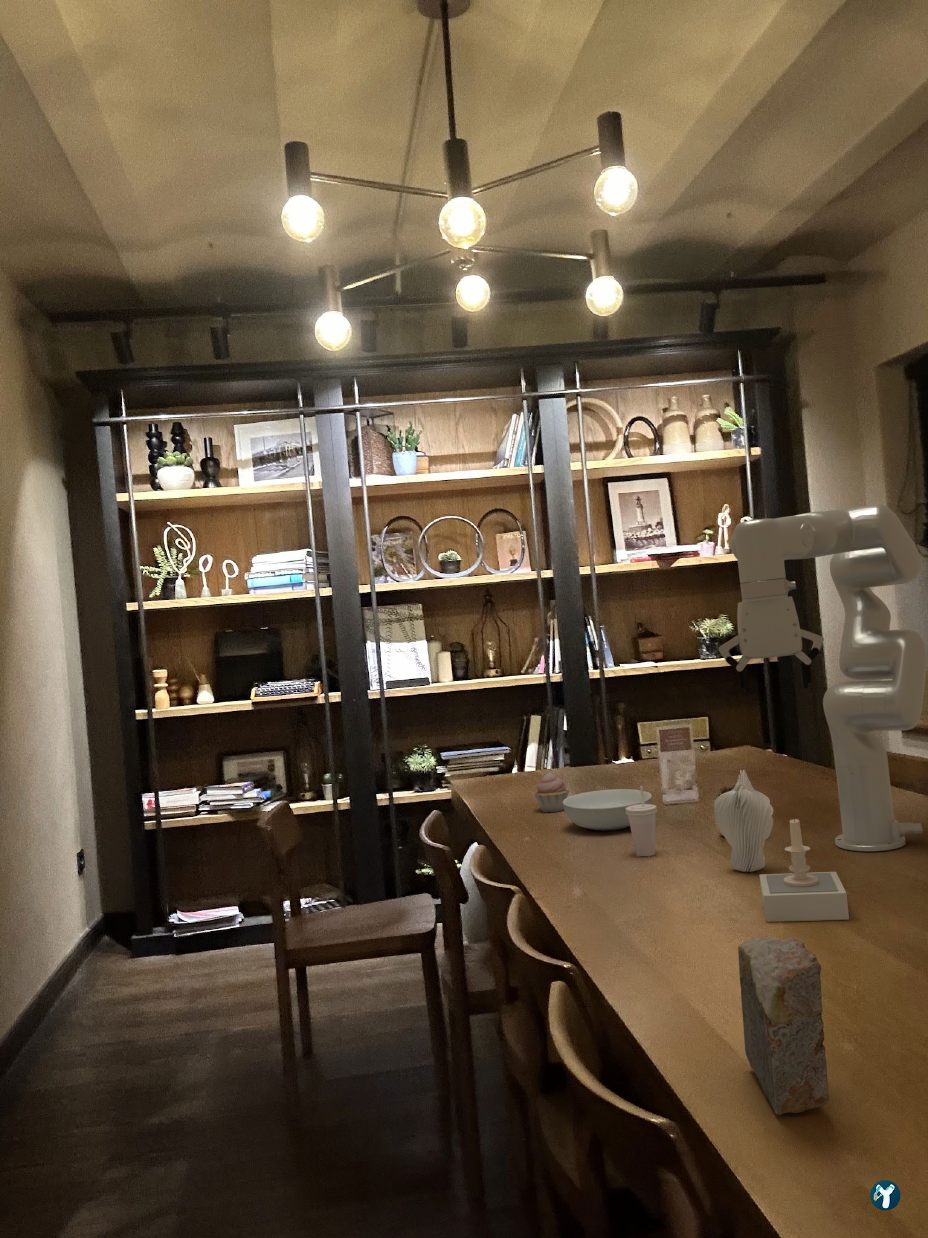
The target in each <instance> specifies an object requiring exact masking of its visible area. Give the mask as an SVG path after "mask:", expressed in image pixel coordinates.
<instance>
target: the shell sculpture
mask: <svg viewBox="0 0 928 1238" xmlns="http://www.w3.org/2000/svg"><path fill="white" fill-rule="evenodd" d="M739 771H740V772H739V773H740V774H739V775H738V778H737V781H735V785H734V786H733V788H732V789H731V790H730V791H729V790H728V791H725V792H724V793H722V794H720V795H719V796H718V797H716V799H715V800H714V803H713V807H714V810H713V814H714V819H715V820H716V823H717V827H718V829H719V831H720V832H721V834H722V835H723V836H724V838H725V840H726V841H727V843H728V844H729V846H731V854H730V867H732V868H733V869H734V870H735V871H736V870H737V871H740V872H745V873H749V872H750V873H753V872H755V871H760V870H761V869H763V868H765V866H766V859H765V858H766V857H765V852H764V846H765V842H766V841H765V840H766V839H769V837H770V835H771V832H772V829H773V826H774V818H773V816H772V815H773V814H774V808H773V806H772V805H771V804H770V803H771V802H770V800H771V799H770V798H769V797H768V796H767V795H765V794H764V793H762V792H760V791H758V790H755V789H754V786H752V783H751V781H750V779H749V777H748V774H747V772H746V770H745V769H743V770H742V769H740V770H739ZM746 871H747V872H746Z"/></svg>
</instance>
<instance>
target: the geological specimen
mask: <svg viewBox="0 0 928 1238" xmlns="http://www.w3.org/2000/svg"><path fill="white" fill-rule="evenodd" d="M737 949H738V950H737V954H738V969H739V970H738V971H739V982H740V983H739V984H740V999H741V1000H740V1001H741V1008H742V1009H741V1011H742V1023H743V1040H744V1053H745V1056H746V1058H747V1060H748V1063H749V1065H750V1068H751V1069H752V1070H753V1071H754V1074H755V1075H756V1077H757V1079H758V1081H759V1084H760V1085H761V1088H762V1091H763V1093H764V1094H765V1095H766V1096H767V1097H766V1098H767V1099H768V1102H769V1103H770V1105H771V1107H772V1108H773V1111H774V1113H775V1115H781V1116H782V1115H784V1114H787V1113H792V1114H799V1113H802V1112H805V1111H807V1110H811V1109H817V1108H819V1107H823V1106H825V1105H828V1103H829V1101H830V1099H829V1098H830V1096H829V1082H828V1074H827V1072H828V1067H827V1066H828V1065H827V1059H826V1046H825V1045H824V1041H825V1032H824V1027H825V1026H824V1022H823V1018H822V1017H823V1016H822V1015H823V1014H822V1013H823V1003H822V1001H823V999H822V998H823V996H822V982H821V981H822V980H821V971H822V966H821V964H820V962H819V959H818V958H817V956H816V955H815V953H813V952H812V951H811V950H809V949H807V948H806V945H805V943H804V942H803V941H799V940H798V939H796V938H795V937H792V936H791V937H789V938H786V939H784V938H778V937H775V936H766V937H752V938H751V937H750V938H749V939H747V940H745V941H744V942H742V943H741V944H740V945H738V946H737Z"/></svg>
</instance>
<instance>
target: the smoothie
mask: <svg viewBox="0 0 928 1238" xmlns="http://www.w3.org/2000/svg"><path fill="white" fill-rule="evenodd" d="M639 790H640V791H641V800H642V804H639V805H632V806H629V807H627V808H626V814H627V815H628V819H629V823H630V826H629V827H630V831H631V836H632V840H633V843H634V844H633V845H634V849H635V853H636V856H637V857H640V856H648V857H652V855H653V856H655V855H656V821H657V820H656V817H657V816H656V815H657V814H656V813H657V812H658V809H657V805H656V804H645V802H644V793H643V791H644V786H643V785H640V786H639Z"/></svg>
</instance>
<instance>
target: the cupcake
mask: <svg viewBox="0 0 928 1238" xmlns="http://www.w3.org/2000/svg"><path fill="white" fill-rule="evenodd" d="M536 790H537V791H536V792H535V793H533V795H534V796H535V799H536V801H537V803H538V804H539V808H540V811H541V812H542V813H548V812H552V813H559V812H562V811H565V810H564V806H563V801H564V800H565V799H566V798H568V797H569V796H568V795H569V793H570V790H568V789H567V786H566V784H565V783H564V781H563V780H562V779H561V778H560V777H556V775H554V774H553V773H552V772H551V771H549V772H548V773H546V774H545V775H544V776H543V777H542V778H541V779H540V782H539V783H538V785H537V786H536Z"/></svg>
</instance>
